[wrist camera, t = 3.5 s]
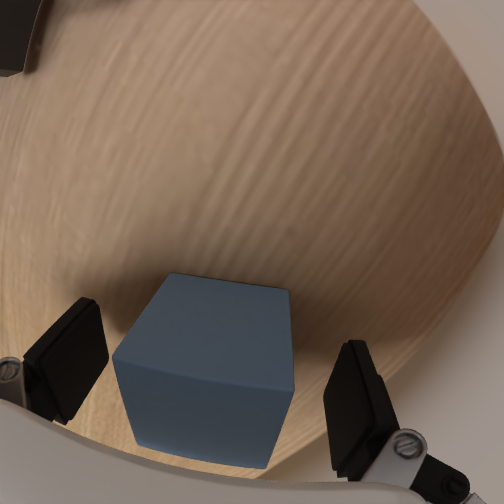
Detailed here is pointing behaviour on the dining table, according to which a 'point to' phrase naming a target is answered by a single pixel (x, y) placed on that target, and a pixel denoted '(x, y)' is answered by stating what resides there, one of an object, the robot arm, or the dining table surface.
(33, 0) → the dark grey drawer
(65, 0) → the dining table surface
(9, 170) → the dining table surface
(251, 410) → the block
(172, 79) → the dining table surface
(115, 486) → the robot arm
